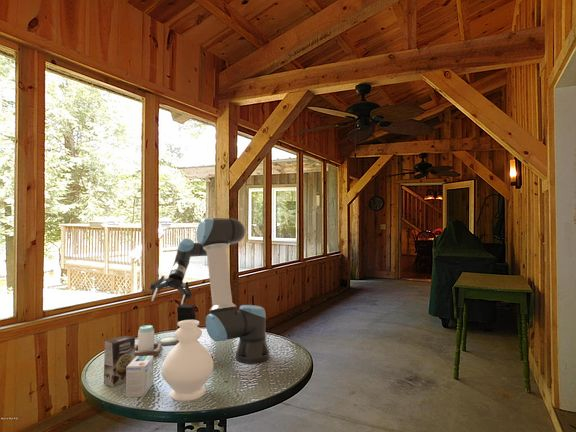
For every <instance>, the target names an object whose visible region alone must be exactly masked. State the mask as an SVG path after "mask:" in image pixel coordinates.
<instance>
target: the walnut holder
mask: <svg viewBox="0 0 576 432" xmlns="http://www.w3.org/2000/svg"><path fill="white" fill-rule="evenodd" d="M137 349H138V344H135V351H136V352H135V357H136V356H153V357H159V355H160V353H161V349H162V345H161V343H156V342H154V349H155V350H154V351H145V352H138V350H137Z"/></svg>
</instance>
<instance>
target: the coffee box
mask: <svg viewBox="0 0 576 432" xmlns="http://www.w3.org/2000/svg"><path fill="white" fill-rule="evenodd" d="M135 345H136V337H135V336H129V335H122V336H118V337H114V338H111V339H107V340H104V354H103V355H104V359H103V384H105V385H107V386H109V387H111V388H113V387H114V388H115V387H117V386H119V385H123V384H126V367H127V366H128V365H129V364H130V363H131V361H132V360H133V359H134V358H135Z"/></svg>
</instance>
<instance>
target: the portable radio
mask: <svg viewBox="0 0 576 432" xmlns="http://www.w3.org/2000/svg"><path fill="white" fill-rule="evenodd" d="M195 309H196V306H195V304H182V305H181V303H178V305H177V308H176V310H177V312H176V313H177V323H178V322H180V321H183V320H196V319H197V317H196V310H195ZM179 328H180V327H179V326H178V325H177V329H179ZM178 343H179V341H178V340H177V344H178ZM177 344H176V345H177Z"/></svg>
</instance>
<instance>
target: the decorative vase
mask: <svg viewBox="0 0 576 432" xmlns="http://www.w3.org/2000/svg"><path fill="white" fill-rule="evenodd" d="M199 325H200V320H183V321H180V322H178V321H177V327H178V326H179V327H180V328H179V329H178V328H177V330H175V332H174V336H175V338H176V339H177V340H178V341H179V343H178V344H175V346H173V348H171V350H170V351H169V352H168V353H167V355H166V357H165V358H164V360H163V363H162V365H161V375H162V378H163V379H164V381H165V382H166V383H167V385H169V386H170V388H171V390H169V395H168V396H169V398H170V399H172V400H173V401H177V402H189V401H194V400H197V399H200V398H201V397H203V396H204V395H205V394H206V393H207V389H206V387H205V386H204V385H205V384H206V382H207V381H208V379H209V378H210V377H211V375H212V373H213V371H214V360H213V357H212V355H211V353H210V352H209V350H207V348H206V347H205V346H204V345H203V344H202V343H200V341H199V339H200V338H201V336H203V335H202V334H203V331H202V329H201V328H200V327H198V326H199Z"/></svg>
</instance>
